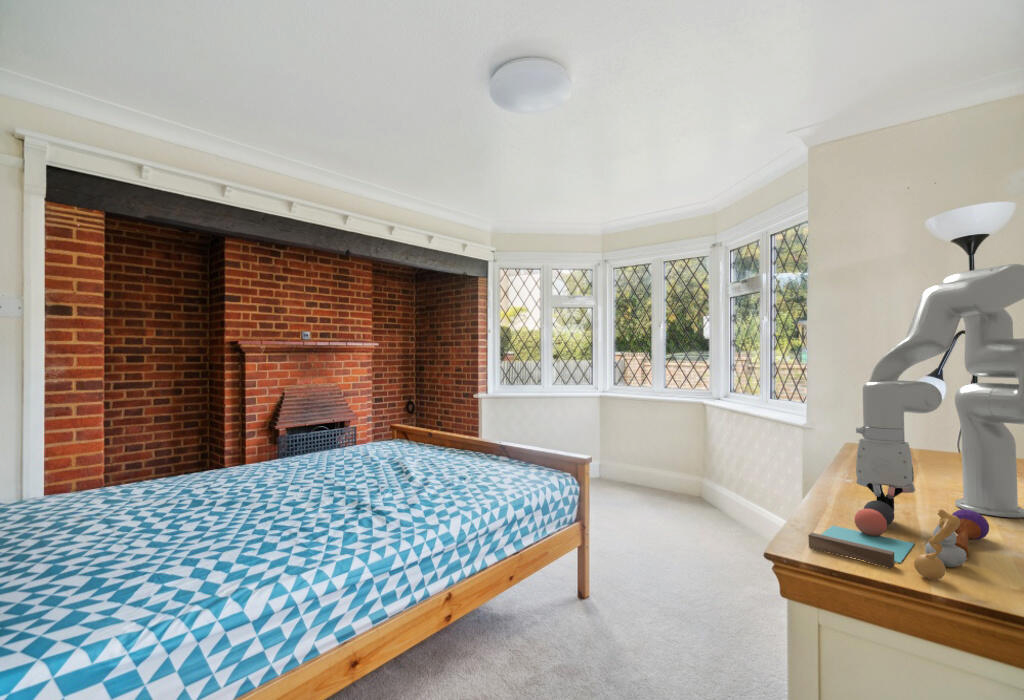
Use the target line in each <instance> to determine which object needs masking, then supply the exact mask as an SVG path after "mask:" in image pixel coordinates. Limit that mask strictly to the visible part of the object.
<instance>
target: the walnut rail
mask: <svg viewBox="0 0 1024 700" xmlns="http://www.w3.org/2000/svg"><path fill="white" fill-rule="evenodd" d="M821 534H822V533H821ZM821 534H820V533H817V532H816V533H815V532H810V533H809V534H808V535H807V536H808V548H809V547H810V549H812V548H814V549H813V550H816V549H817V551H820V550H821V552H824V551H825V552H824V553H828V552H830V553H829V554H832V553H833V554H832V555H836V554H838V555H837V556H839V555H843V556H848V557H852V558H856V559H860V560H864V561H866V562H865V563H867V562H870V563H869V564H871V563H873V564H872V565H874V564H877V565H876V566H878V565H880V566H879V567H882V566H885V567H884V568H886V567H888V568H887V569H890V568H893V569H894V567H895V566H894V565H895V563H896V562H895V560H894V552H893V551H889V550H885V549H880V548H876V547H872V546H867V545H863V544H859V543H855V542H850V541H846V540H842V539H838V538H833V537H829V536H825V535H821ZM843 556H842V557H843Z"/></svg>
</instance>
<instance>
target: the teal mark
mask: <svg viewBox="0 0 1024 700" xmlns="http://www.w3.org/2000/svg"><path fill="white" fill-rule="evenodd" d="M821 535H825V536H829V537H833V538H838V539H842V540H846V541H850V542H855V543H859V544H863V545H867V546H872V547H876V548H880V549H885V550H889V551H893V552H894V560H895V563H896V562H898V563H897V564H900V563H901V564H902V563H903V561H904V560H905V558H906V557H907V555H908V554H909V552H910V551H911V550H912V548H913V547H914V545H915V543H914V542H912V541H911V542H909V541H906V540H901V539H896V538H892V537H887V536H883V535H879V536H869V535H866V534H864V533H862V532H861V531H860V530H855V529H852V528H846V527H841V526H838V525H831V526H830V527H828V529H826V530H825V531H823V532H821ZM905 556H906V557H905ZM902 560H903V561H902Z"/></svg>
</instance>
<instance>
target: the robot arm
mask: <svg viewBox="0 0 1024 700" xmlns="http://www.w3.org/2000/svg"><path fill="white" fill-rule="evenodd" d="M1022 300H1024V264H1020V263H1012V264H1011V263H1010V264H1004V265H997V266H991V267H985V268H980V269H974V270H973V269H972V270H967V271H962V272H958V273H954V274H952V275H949V276H947V277H945V278H944V279H943V280H942V282H941V284H937V285H933V286H931V287H929V288H927V289H925V290H924V291H923V293H922V294H921V295H920V298H919V301H918V303H917V307H916V309H915V311H914V314H913V317H912V319H911V323H910V324H909V327H908V331H907V333H906V336H905V338H904V339H903V340H902V341H901V342H899V343H898V344H897V345H895V346H894V347H893V348H891V350H889V351H888V352H887V353H885V355H884V356H882V358H881V359H880V360H878V362H877V363H876V364H875V366H874V367H873V370H872V372H871V375H870V378H869V381H868V382H865V383H864V384H863V386H862V420H863V421H862V422H863V426H861V427H856V428H855V433H856V434H859V435H861V436H862V438H859V440H858V444H857V450H856V451H857V452H856V467H855V475H856V484H857V485H859V486H862V487H865V488H868V490H870V492H871V493H873V494H874V496H875V497H876V501H882V502H884V503H886V504H888V505H889V506H890V507H891V508H892V510H893V512H894V513H895V497H897V496H899V495H900V494H910V493H912V494H913V493H915V492H916V487H915V484H914V482H915V481H914V480H915V479H914V477H915V476H914V475H915V474H914V466H913V465H914V464H913V458H912V452H911V447H910V444H909V442H907V441H906V439H905V413H908V414H911V413H912V414H921V415H922V414H928V413H931V412H934V411H936V410H937V409H938V408H939V407H940V406H941V405H942V401H943V396H942V392H941V391H940V389H939V388H938V387H936V385H934V384H932V383H929V382H925V381H920V380H918V381H917V380H899V378H900V377H901V376H902V374H903V373H904V372H905V371H907V370H908V369H909V368H911V367H913V366H915V365H916V364H919V363H921V362H924V361H927V360H929V359H932V358H935V357H937V356H939V355H942V354H944V353H946V352H947V351H948V350H950V348H951V347H952V343H953V341H954V338H955V335H956V332H957V329H958V327H959V324H960V321H961V319H962V320H963V323H964V332H965V334H964V367H965V370H966V372H967V373H969V374H970V375H973V376H975V377H979V378H991V379H992V378H993V379H994V378H995V379H999V378H1000V379H1017V380H1018V383H1003V382H975V383H969V384H965V385H962V386H960V388H959V389H957V391H956V392H955V395H954V404H955V409H956V412H957V416H958V419H959V426H960V433H961V435H960V436H961V462H962V466H961V467H962V495H963V496H962V497H963V498H957V499H955V501H954V504H955V506H956V507H958V508H959V509H961V510H963V509H966V510H972V511H975V512H977V513H979V514H981V515H987V516H994V517H1001V518H1009V519H1011V518H1012V519H1013V518H1014V519H1017V518H1018V519H1020V518H1021V519H1022V518H1024V508H1023V507H1022V506H1021V507H1020V506H1019V502H1018V500H1019V497H1018V474H1017V473H1018V472H1017V471H1018V469H1017V445H1016V444H1017V443H1016V440H1015V437H1014V436H1013V433H1012V432H1011V431H1010V429H1009V428H1008V427H1007V426H1006V424H1013V425H1023V426H1024V338H1014V325H1013V323H1014V322H1013V318H1012V316H1011V315H1010V313H1009V312H1008V311H1007V310H1006V308H1008V307H1010V306H1012V305H1014V304H1015V303H1016V304H1017V303H1018V302H1020V301H1022ZM883 486H887V487H888V488H887V493H886V495H885V493H884V489H883Z"/></svg>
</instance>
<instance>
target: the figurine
mask: <svg viewBox="0 0 1024 700" xmlns="http://www.w3.org/2000/svg"><path fill="white" fill-rule="evenodd" d="M936 514H937V516H938V517H940V519H939V522H938V525H940V531H939V532H938V533H937V534H936V535H935V536H934V537H933V536H932V537H931V538H929V539H928V542H929V544H930V545H931V546H932V547H933V549H934V550H936V552H934V553H929V554H926V553H922V554H919V555H917V556H916V557H915V559H914V561H913V565H914V568H915V570H916V572H917V573H918V574H919V575H920V576H922V577H923V578H925V579H927V580H934V581H936V580H940V579H942V578H944V576H945V574H946V566H944V564H943V562H942V561H941V560H940V559H939V558H937V555H938V554H939V553H940V552H941V551H942V545H941V544H939V542H942V541H943V540H944V539H946V538H947V537H948V536H950V535H951V534H952V532H953V531H955V530H956V529H957V528H958V527H959V525H960V519H959V518H958V517H956V516H954V515H952V514H950V513H949V512H947V511H945V510H944V509H942V508H941V509H938V512H937V513H936ZM934 544H935V545H934Z"/></svg>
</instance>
